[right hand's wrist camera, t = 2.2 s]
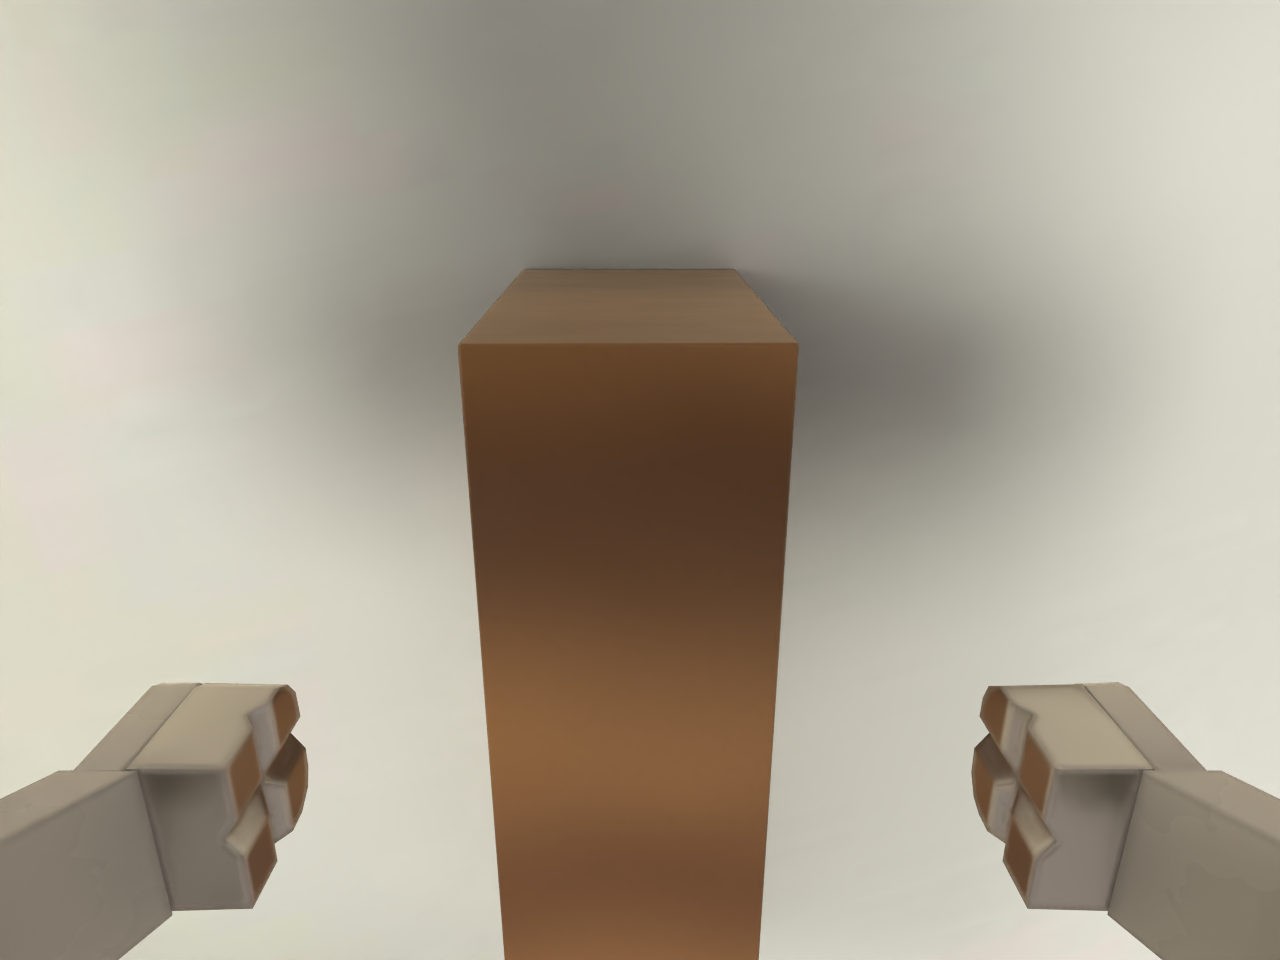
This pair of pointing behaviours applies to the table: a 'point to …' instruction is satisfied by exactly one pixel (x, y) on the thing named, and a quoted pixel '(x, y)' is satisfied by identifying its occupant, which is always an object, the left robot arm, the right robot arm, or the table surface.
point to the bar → (629, 603)
